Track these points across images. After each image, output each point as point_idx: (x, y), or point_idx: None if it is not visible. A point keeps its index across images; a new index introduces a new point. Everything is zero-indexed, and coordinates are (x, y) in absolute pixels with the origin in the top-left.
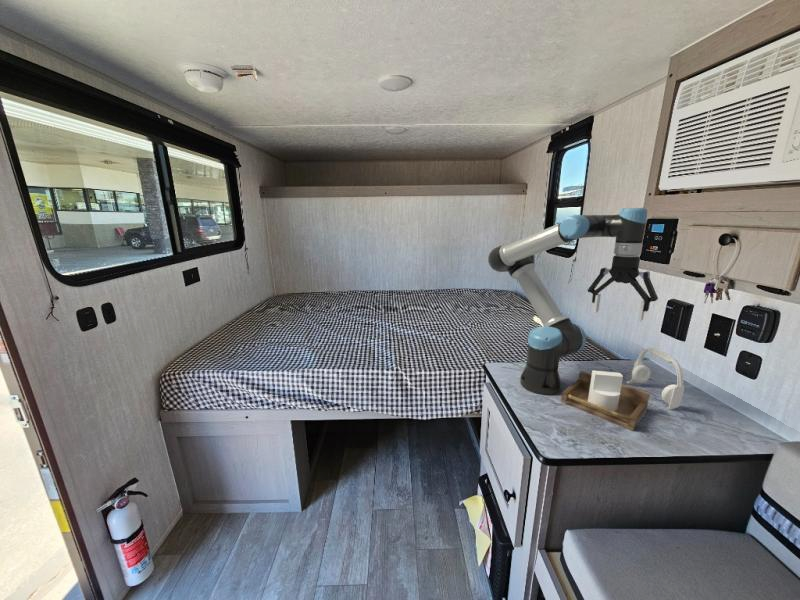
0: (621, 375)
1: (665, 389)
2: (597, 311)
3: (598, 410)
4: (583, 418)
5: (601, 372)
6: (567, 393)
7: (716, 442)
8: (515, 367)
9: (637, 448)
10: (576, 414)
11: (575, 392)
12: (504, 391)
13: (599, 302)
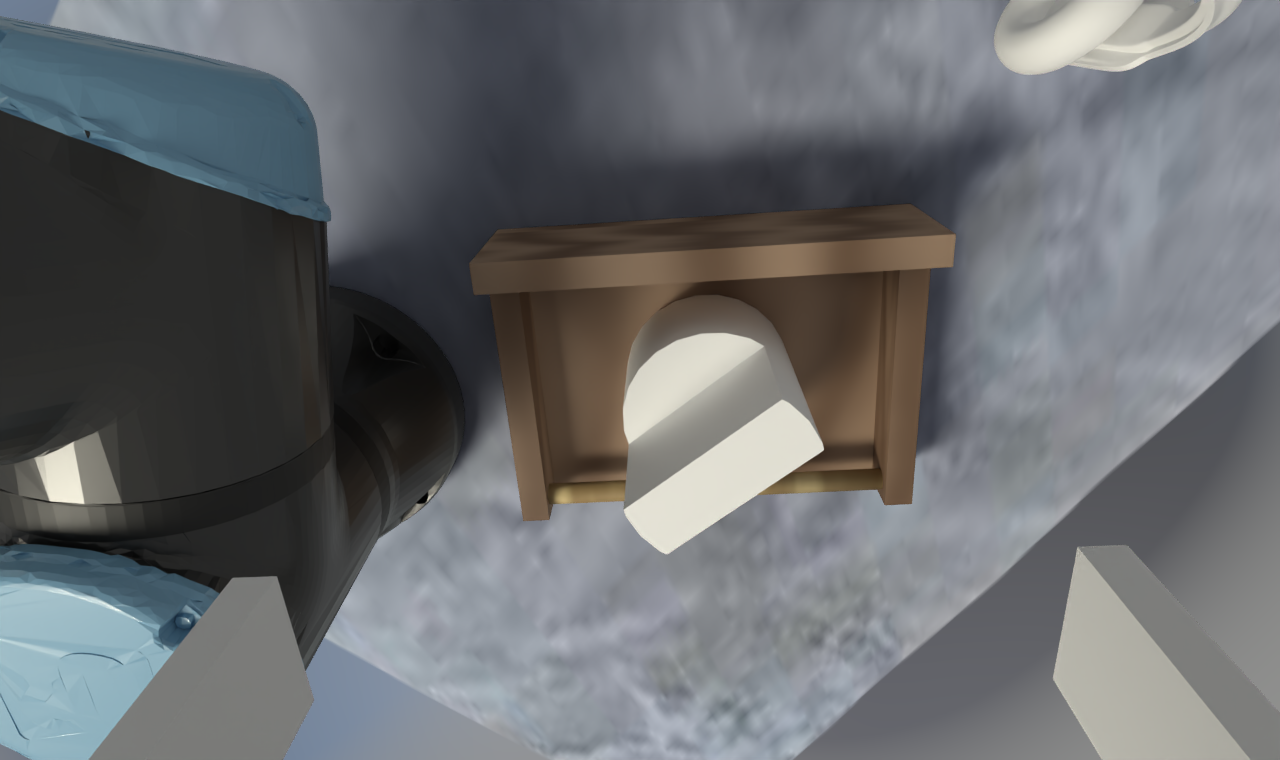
0: (809, 435)
1: (1042, 63)
2: (286, 624)
3: None
4: None
5: (684, 494)
6: (548, 507)
7: (1243, 255)
8: None
9: (935, 577)
10: None
11: (538, 364)
12: None
13: (155, 754)
